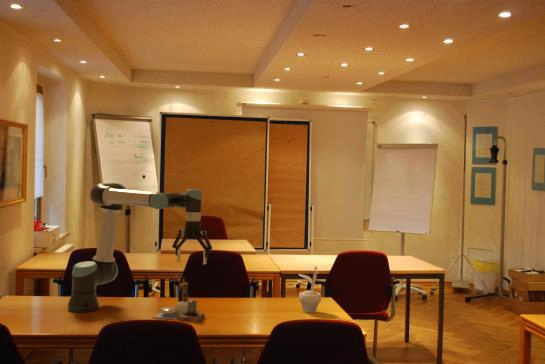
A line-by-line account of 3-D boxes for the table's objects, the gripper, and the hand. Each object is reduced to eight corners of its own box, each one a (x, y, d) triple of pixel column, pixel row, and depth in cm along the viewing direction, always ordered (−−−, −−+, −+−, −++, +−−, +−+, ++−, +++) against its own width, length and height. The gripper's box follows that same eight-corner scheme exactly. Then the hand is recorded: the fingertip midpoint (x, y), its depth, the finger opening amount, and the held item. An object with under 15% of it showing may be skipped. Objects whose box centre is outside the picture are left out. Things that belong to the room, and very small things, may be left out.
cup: (175, 316, 277) (176, 304, 277) (180, 313, 283) (180, 301, 283) (187, 317, 276) (187, 305, 276) (191, 314, 282) (191, 302, 281)
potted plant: (323, 311, 298) (325, 264, 297) (315, 315, 287) (317, 267, 287) (301, 308, 303) (303, 262, 303) (293, 312, 292) (295, 265, 292)
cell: (185, 318, 271) (186, 300, 271) (189, 316, 276) (189, 298, 276) (194, 319, 271) (195, 301, 270) (197, 316, 275) (198, 299, 275)
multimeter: (193, 313, 284) (194, 274, 284) (175, 311, 286) (176, 272, 286) (202, 306, 299) (204, 269, 298) (185, 304, 301) (186, 268, 300)
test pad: (157, 313, 273) (157, 310, 273) (164, 309, 282) (164, 306, 282) (174, 315, 271) (174, 311, 271) (181, 310, 280) (181, 307, 280)
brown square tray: (178, 320, 269) (178, 316, 269) (185, 315, 279) (185, 311, 279) (197, 322, 267) (197, 318, 267) (204, 317, 277) (204, 313, 277)
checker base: (153, 317, 272) (153, 316, 272) (162, 312, 284) (162, 311, 284) (176, 320, 269) (176, 319, 269) (185, 314, 281) (185, 313, 281)
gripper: (166, 219, 275) (165, 262, 275) (214, 222, 269) (213, 266, 270) (172, 218, 282) (170, 260, 282) (219, 221, 277) (217, 263, 277)
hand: (191, 263), depth 276 cm, fingers open, 13 cm apart
